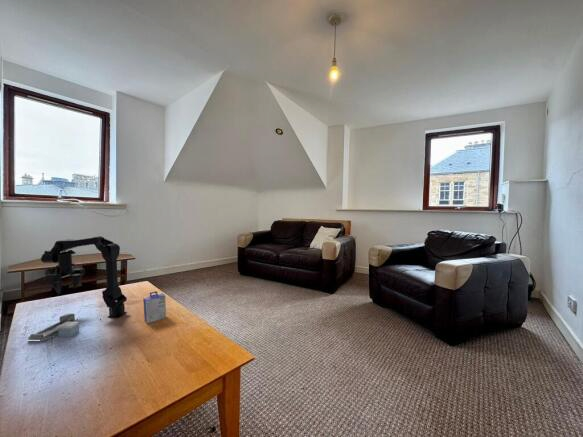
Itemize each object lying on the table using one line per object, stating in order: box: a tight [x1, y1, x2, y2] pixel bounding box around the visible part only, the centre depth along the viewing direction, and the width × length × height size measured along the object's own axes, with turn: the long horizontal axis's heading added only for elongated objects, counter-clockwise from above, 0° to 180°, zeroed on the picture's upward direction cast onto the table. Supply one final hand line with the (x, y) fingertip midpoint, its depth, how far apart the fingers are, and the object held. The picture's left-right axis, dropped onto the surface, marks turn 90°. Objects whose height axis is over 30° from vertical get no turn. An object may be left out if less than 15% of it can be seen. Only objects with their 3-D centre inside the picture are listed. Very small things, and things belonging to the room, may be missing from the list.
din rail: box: [27, 313, 79, 342], centre depth 119 cm, size 8×17×6 cm, turn 178°
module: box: [58, 321, 80, 337], centre depth 118 cm, size 4×6×5 cm
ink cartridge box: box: [142, 291, 167, 324], centre depth 132 cm, size 10×6×14 cm, turn 134°
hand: (67, 290), depth 136 cm, fingers open, 9 cm apart
